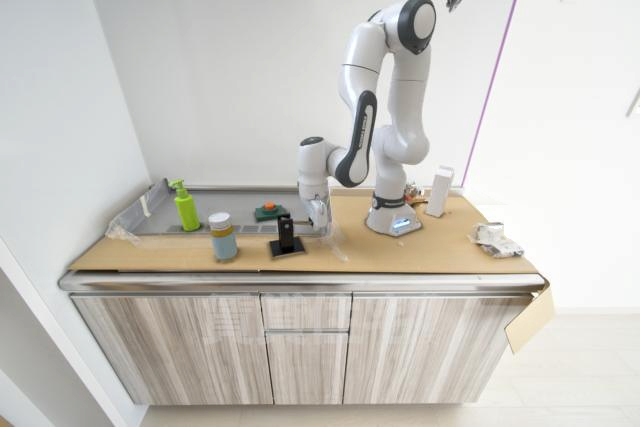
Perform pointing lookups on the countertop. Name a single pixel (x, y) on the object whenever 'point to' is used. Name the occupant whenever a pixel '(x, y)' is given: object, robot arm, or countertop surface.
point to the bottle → (223, 236)
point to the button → (269, 206)
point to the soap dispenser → (185, 207)
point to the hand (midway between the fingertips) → (313, 225)
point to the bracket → (285, 238)
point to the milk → (440, 191)
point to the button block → (268, 213)
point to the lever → (300, 222)
